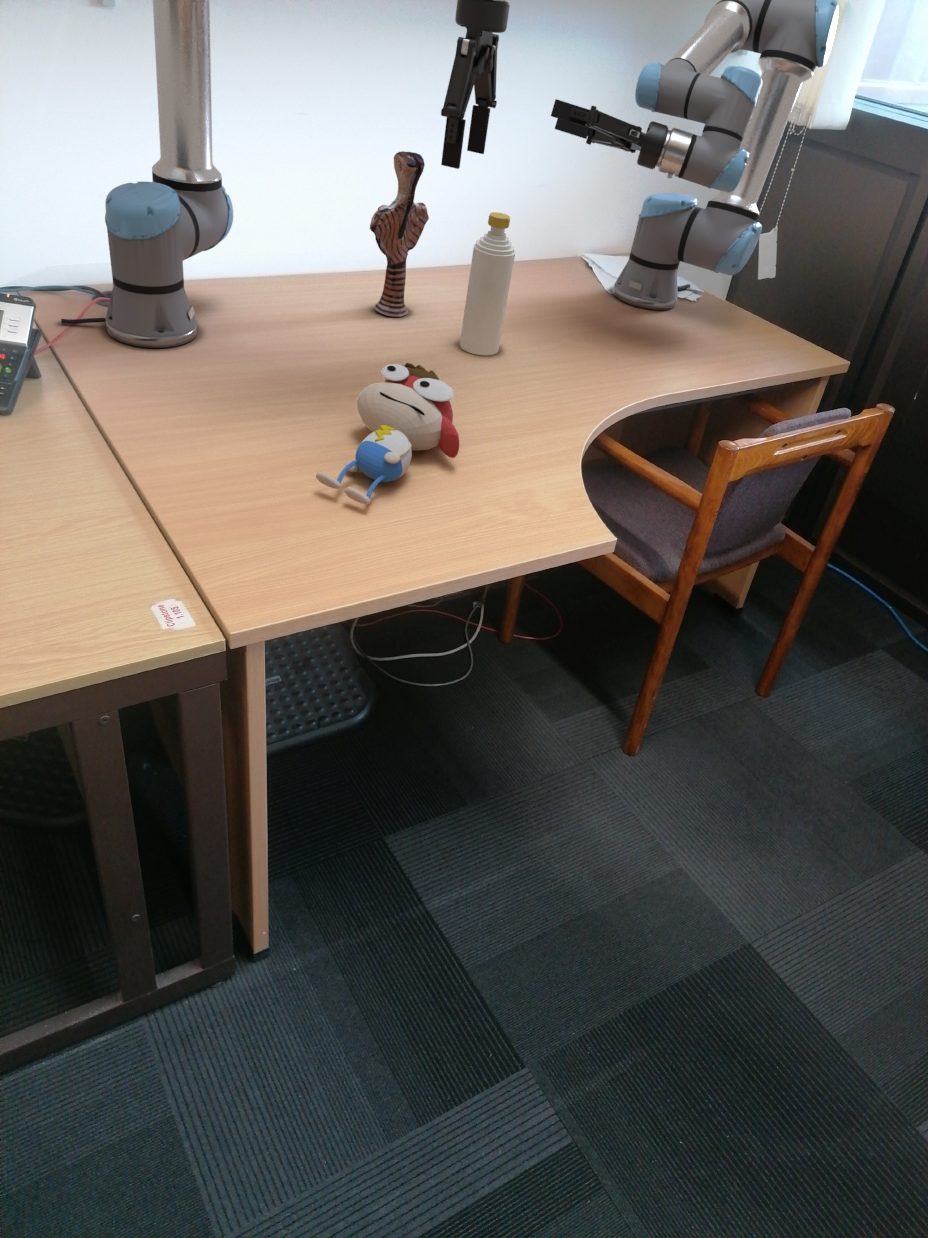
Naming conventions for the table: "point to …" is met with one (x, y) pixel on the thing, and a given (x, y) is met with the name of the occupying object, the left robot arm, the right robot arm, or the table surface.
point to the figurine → (399, 231)
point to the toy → (399, 425)
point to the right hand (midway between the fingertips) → (554, 114)
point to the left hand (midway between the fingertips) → (463, 159)
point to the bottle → (487, 293)
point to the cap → (499, 220)
